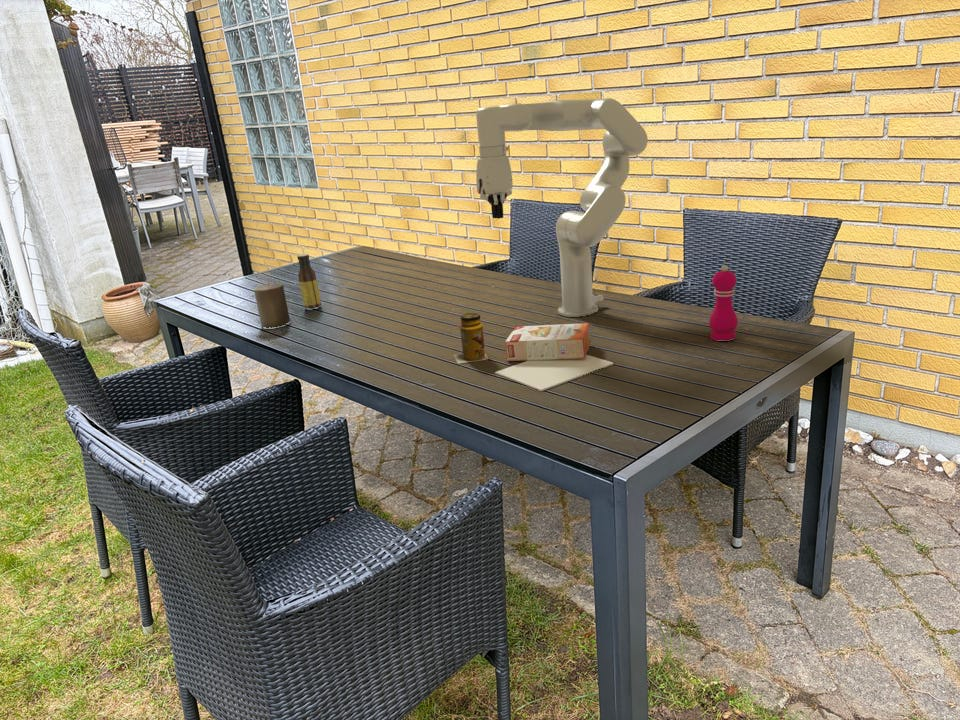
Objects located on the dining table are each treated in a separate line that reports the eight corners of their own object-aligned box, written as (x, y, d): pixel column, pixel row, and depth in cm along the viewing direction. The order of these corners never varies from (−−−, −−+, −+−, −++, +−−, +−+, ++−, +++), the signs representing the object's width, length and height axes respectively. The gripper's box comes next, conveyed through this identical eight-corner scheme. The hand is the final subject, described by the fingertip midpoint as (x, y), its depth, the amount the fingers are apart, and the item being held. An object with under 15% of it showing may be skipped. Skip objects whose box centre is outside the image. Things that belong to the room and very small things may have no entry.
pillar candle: (296, 323, 249) (288, 280, 244) (271, 331, 242) (262, 287, 237) (280, 320, 255) (272, 278, 251) (255, 327, 249) (247, 284, 244)
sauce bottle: (317, 305, 270) (308, 252, 264) (325, 307, 266) (316, 253, 259) (301, 309, 267) (291, 255, 260) (309, 312, 262) (299, 257, 255)
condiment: (489, 359, 197) (485, 316, 193) (458, 364, 195) (453, 321, 191) (483, 351, 204) (479, 310, 200) (453, 356, 202) (448, 314, 198)
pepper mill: (738, 335, 198) (741, 262, 191) (735, 343, 192) (737, 268, 185) (711, 333, 201) (712, 261, 194) (706, 342, 195) (708, 268, 188)
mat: (565, 349, 199) (565, 348, 199) (613, 364, 185) (613, 362, 185) (495, 373, 186) (495, 372, 186) (541, 391, 172) (541, 389, 172)
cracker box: (583, 336, 186) (503, 341, 191) (586, 359, 188) (506, 362, 193) (589, 321, 199) (514, 325, 204) (591, 342, 200) (516, 346, 206)
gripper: (505, 149, 214) (510, 213, 220) (463, 155, 206) (469, 221, 212) (521, 149, 208) (526, 214, 214) (479, 155, 200) (484, 223, 206)
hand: (498, 217), depth 213 cm, fingers closed
